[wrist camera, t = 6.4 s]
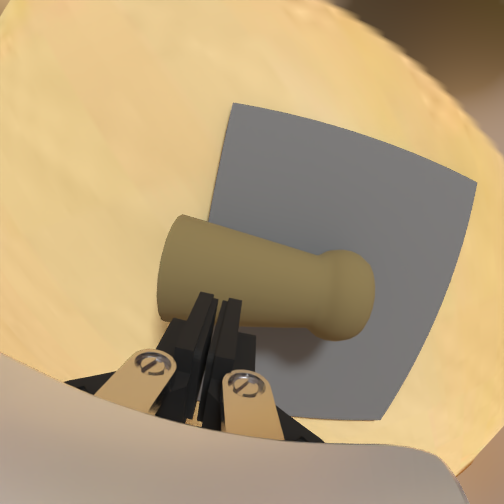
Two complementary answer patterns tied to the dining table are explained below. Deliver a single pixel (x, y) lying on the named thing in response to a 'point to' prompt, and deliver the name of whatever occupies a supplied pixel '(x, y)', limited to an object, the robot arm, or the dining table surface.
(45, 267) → the dining table surface
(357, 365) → the mat
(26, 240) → the dining table surface
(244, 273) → the cork
